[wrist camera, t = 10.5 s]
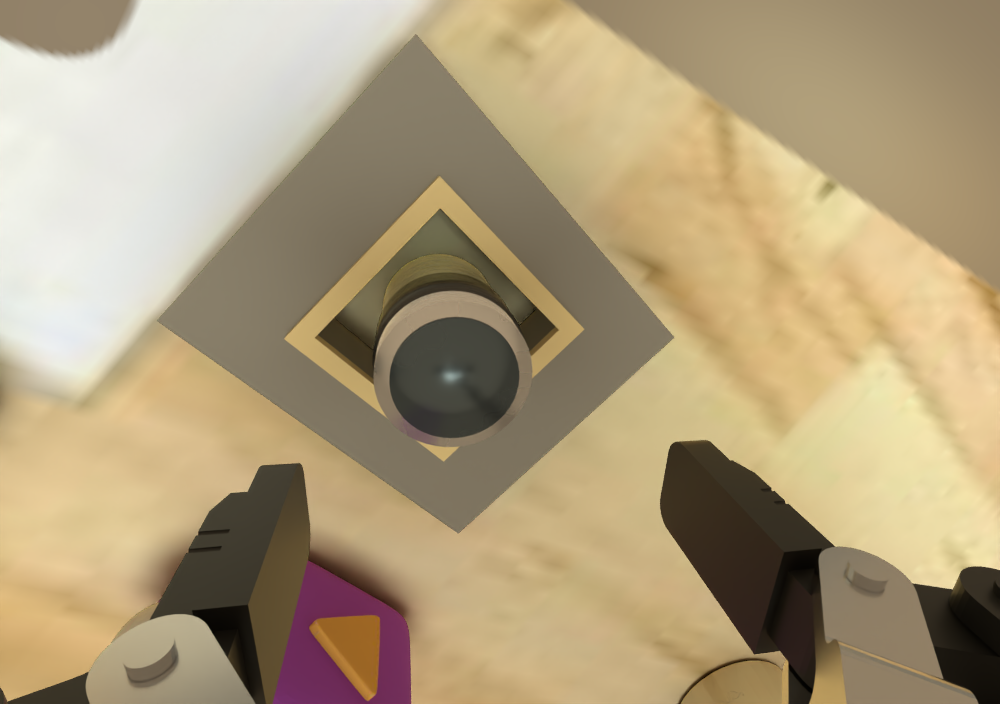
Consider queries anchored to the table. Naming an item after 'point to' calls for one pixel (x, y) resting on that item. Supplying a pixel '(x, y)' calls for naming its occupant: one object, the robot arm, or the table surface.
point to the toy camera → (338, 646)
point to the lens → (448, 354)
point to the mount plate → (368, 248)
